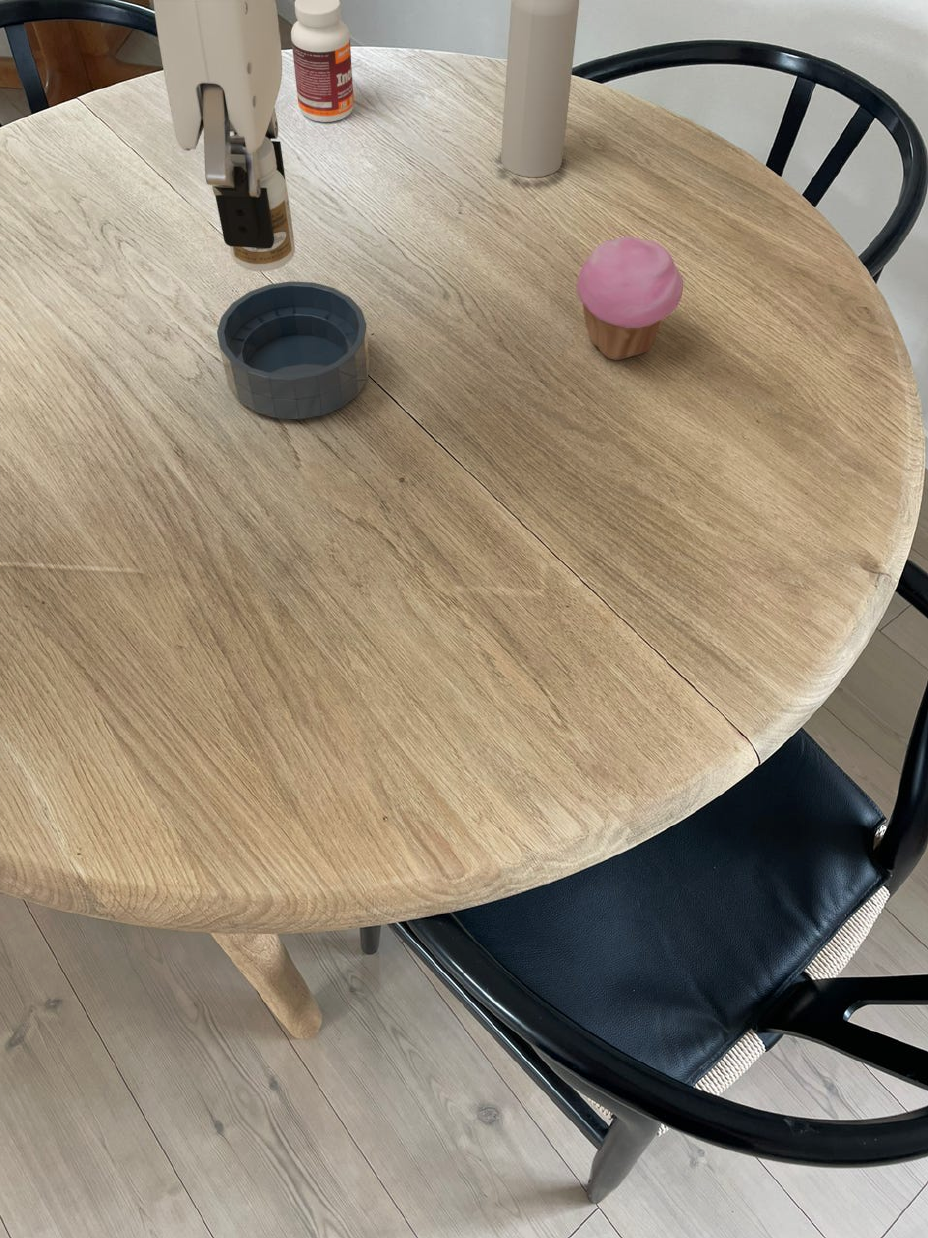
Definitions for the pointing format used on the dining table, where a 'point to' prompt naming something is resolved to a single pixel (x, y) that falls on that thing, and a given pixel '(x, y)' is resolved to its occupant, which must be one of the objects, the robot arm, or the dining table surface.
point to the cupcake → (627, 294)
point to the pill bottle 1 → (278, 209)
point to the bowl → (294, 349)
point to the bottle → (538, 85)
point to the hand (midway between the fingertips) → (256, 218)
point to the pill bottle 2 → (322, 60)
